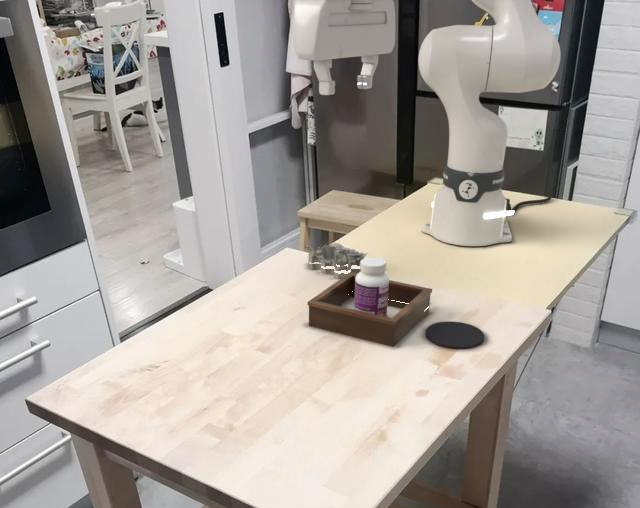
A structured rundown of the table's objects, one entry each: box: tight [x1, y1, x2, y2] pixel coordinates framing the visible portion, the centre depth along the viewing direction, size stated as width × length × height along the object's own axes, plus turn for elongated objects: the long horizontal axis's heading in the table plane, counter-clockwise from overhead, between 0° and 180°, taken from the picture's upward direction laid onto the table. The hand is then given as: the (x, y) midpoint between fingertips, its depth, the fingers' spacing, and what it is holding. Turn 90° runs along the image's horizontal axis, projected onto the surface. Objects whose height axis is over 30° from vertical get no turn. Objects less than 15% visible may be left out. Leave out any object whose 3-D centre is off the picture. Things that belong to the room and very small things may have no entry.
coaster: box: [425, 321, 485, 350], centre depth 111 cm, size 9×9×1 cm
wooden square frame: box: [307, 272, 433, 347], centre depth 115 cm, size 15×15×4 cm
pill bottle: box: [353, 257, 390, 317], centre depth 113 cm, size 5×5×10 cm
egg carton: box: [304, 242, 369, 280], centre depth 133 cm, size 11×8×4 cm
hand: (346, 91), depth 105 cm, fingers open, 8 cm apart
